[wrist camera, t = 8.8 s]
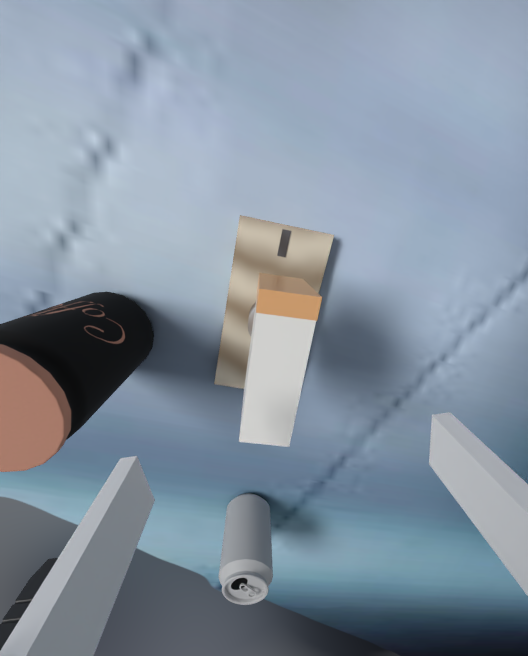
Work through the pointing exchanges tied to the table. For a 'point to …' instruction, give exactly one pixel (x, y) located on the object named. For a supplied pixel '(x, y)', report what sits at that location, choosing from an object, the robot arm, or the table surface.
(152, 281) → the table surface
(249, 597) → the can
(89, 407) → the coffee jar
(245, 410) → the orange-capped white bar
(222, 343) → the lock board
